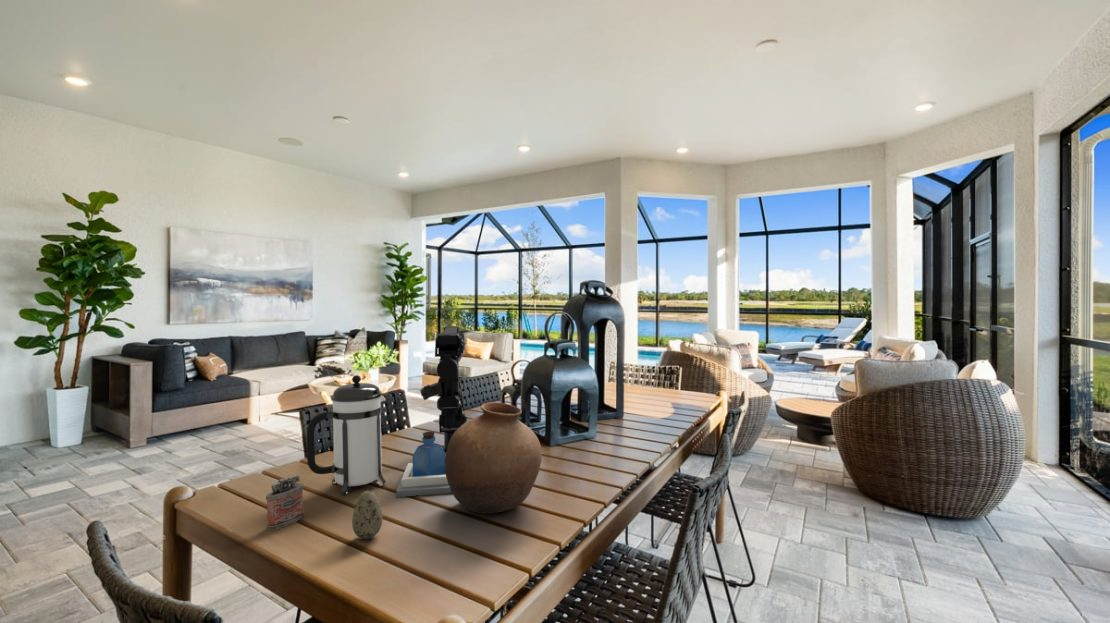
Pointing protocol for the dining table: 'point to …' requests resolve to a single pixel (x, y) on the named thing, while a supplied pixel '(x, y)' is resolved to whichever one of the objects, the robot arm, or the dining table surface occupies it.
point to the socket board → (421, 484)
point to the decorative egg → (367, 516)
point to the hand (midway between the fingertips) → (450, 424)
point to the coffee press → (352, 435)
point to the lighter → (285, 503)
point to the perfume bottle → (428, 457)
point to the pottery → (493, 460)
